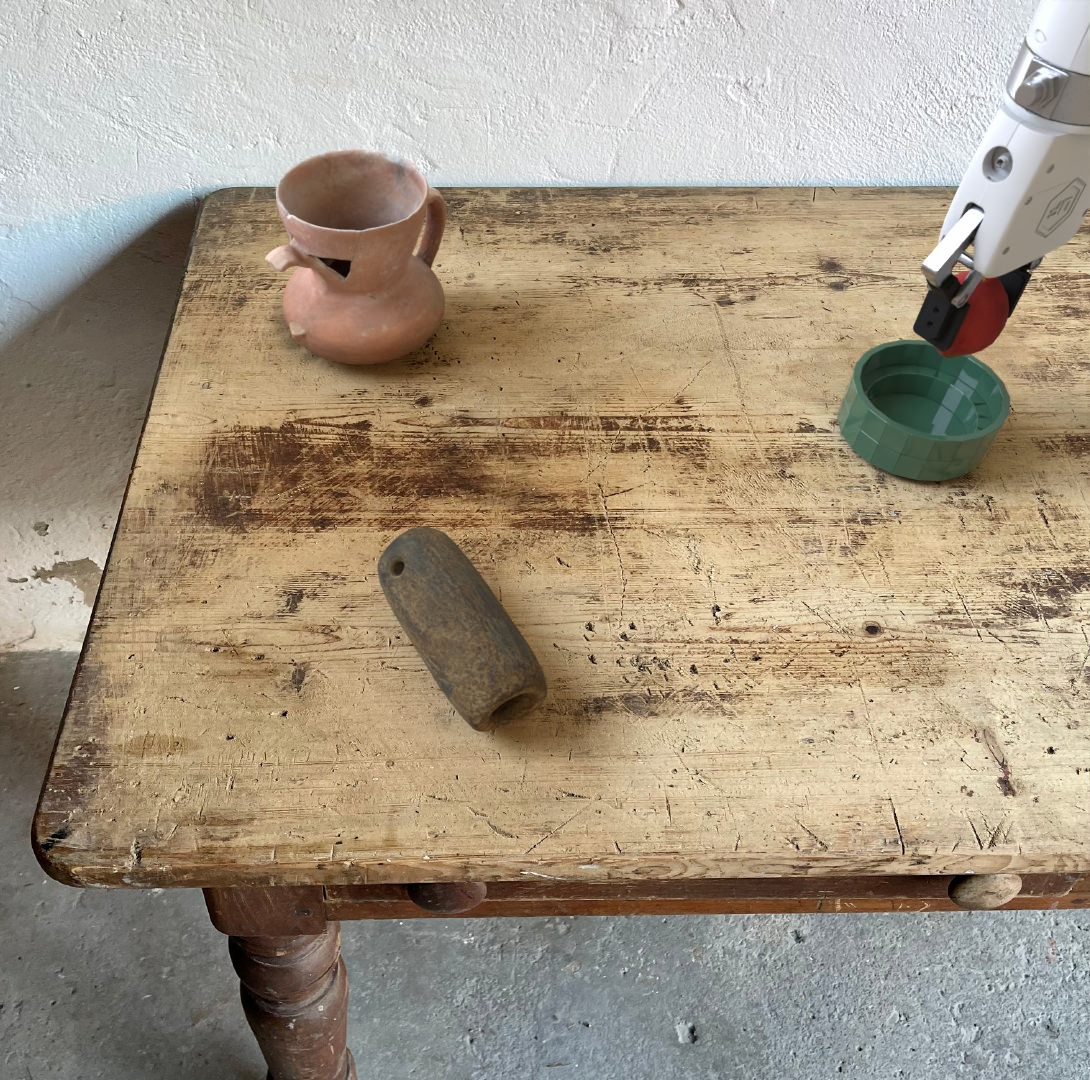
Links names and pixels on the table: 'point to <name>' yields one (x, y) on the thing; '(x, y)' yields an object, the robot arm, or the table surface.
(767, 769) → the table surface
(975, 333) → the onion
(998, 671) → the table surface
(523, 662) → the stone weight
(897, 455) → the bowl
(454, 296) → the table surface
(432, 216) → the ceramic jug
